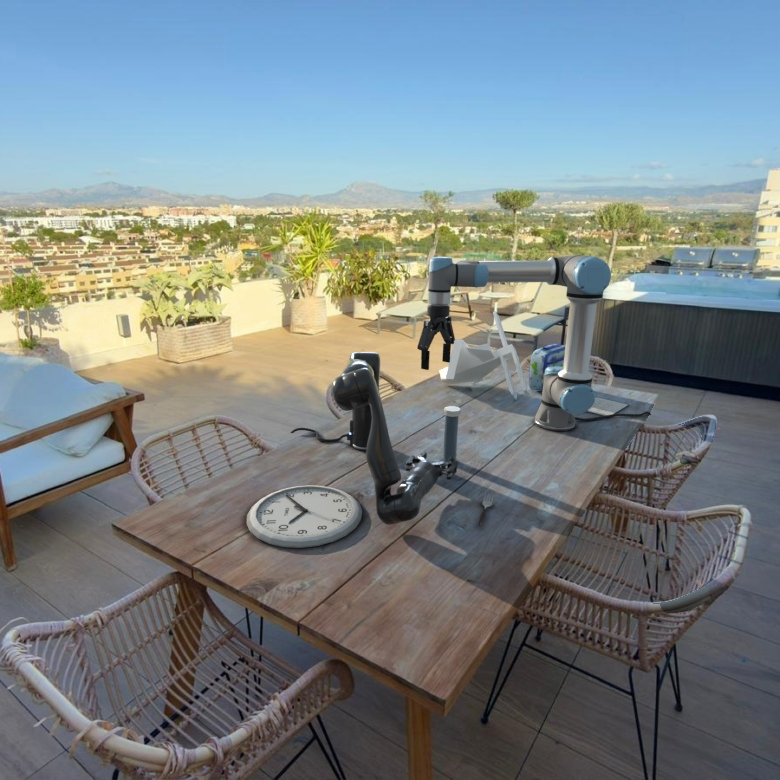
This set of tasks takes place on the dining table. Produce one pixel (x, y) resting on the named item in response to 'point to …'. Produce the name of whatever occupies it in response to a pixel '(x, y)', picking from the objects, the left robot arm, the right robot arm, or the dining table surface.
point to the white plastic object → (482, 362)
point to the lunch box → (544, 363)
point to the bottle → (450, 438)
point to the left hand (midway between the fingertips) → (438, 457)
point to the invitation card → (606, 407)
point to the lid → (452, 411)
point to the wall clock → (304, 516)
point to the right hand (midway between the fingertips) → (435, 365)
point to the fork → (485, 504)
